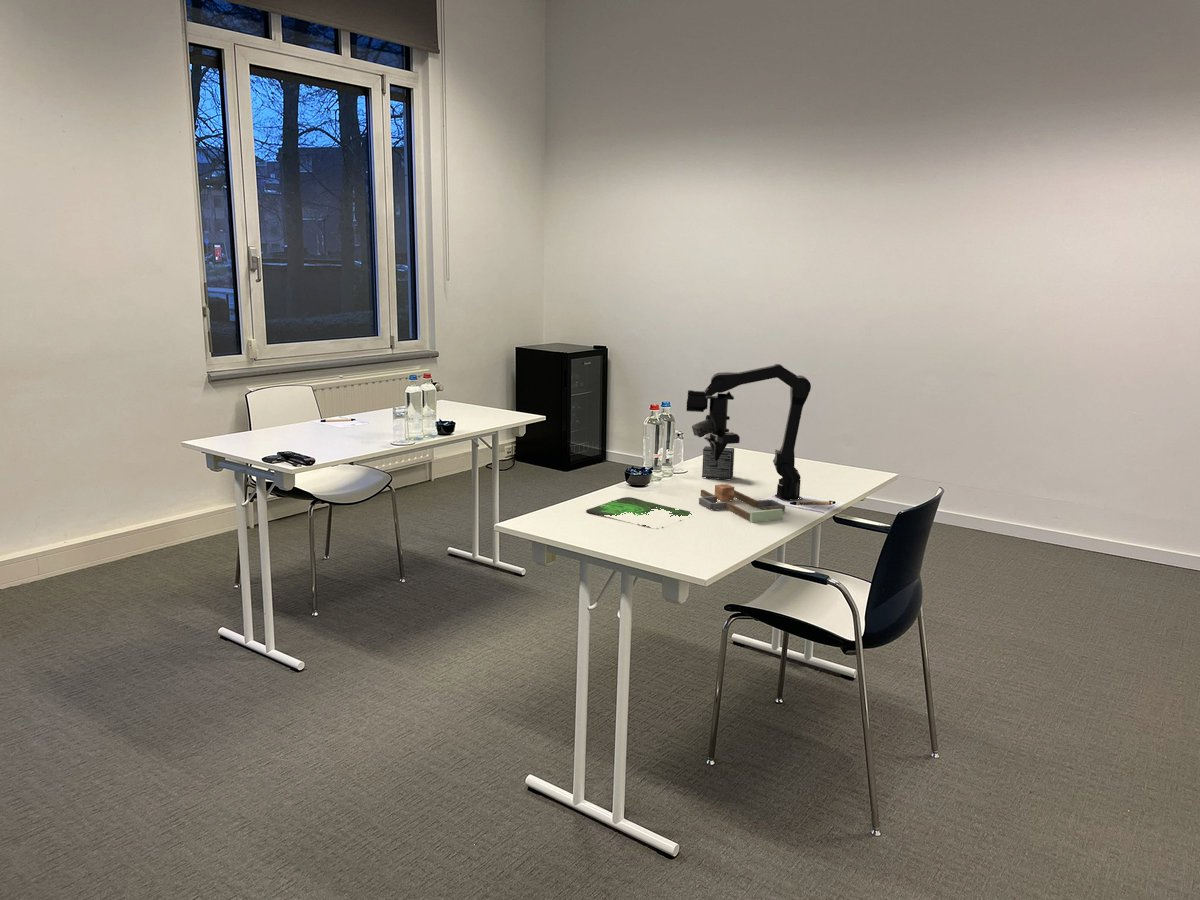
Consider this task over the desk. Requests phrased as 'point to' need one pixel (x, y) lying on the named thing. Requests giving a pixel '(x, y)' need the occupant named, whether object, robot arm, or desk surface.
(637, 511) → the mouse mat
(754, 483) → the desk surface
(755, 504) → the lane walls
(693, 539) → the desk surface
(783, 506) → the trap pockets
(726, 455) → the small box
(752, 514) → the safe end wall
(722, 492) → the wooden cube
